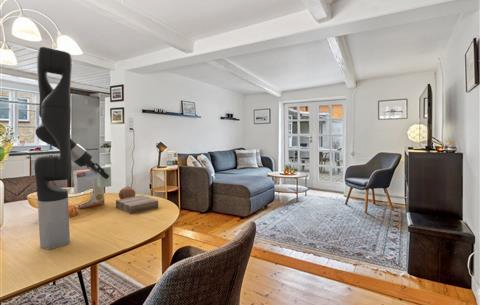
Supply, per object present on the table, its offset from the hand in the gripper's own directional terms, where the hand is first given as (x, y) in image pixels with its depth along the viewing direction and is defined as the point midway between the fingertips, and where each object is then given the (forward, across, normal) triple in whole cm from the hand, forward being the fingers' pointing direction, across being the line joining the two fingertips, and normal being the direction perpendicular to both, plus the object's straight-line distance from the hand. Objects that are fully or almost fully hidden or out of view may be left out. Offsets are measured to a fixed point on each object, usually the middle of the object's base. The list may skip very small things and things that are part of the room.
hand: (105, 176), depth 135 cm
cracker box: (+13, +23, +14) cm, 30 cm away
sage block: (+3, 0, +4) cm, 5 cm away
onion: (+27, +17, 0) cm, 32 cm away
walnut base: (+25, 0, +2) cm, 25 cm away
